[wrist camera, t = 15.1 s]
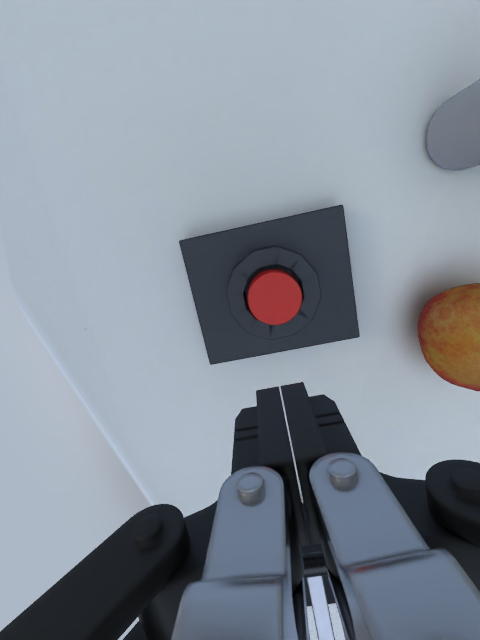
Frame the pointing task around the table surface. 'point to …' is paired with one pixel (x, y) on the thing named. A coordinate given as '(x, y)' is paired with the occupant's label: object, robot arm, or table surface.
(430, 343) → the fruit
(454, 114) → the beverage can
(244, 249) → the control block
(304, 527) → the robot arm
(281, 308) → the button
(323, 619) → the lever
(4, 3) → the table surface
